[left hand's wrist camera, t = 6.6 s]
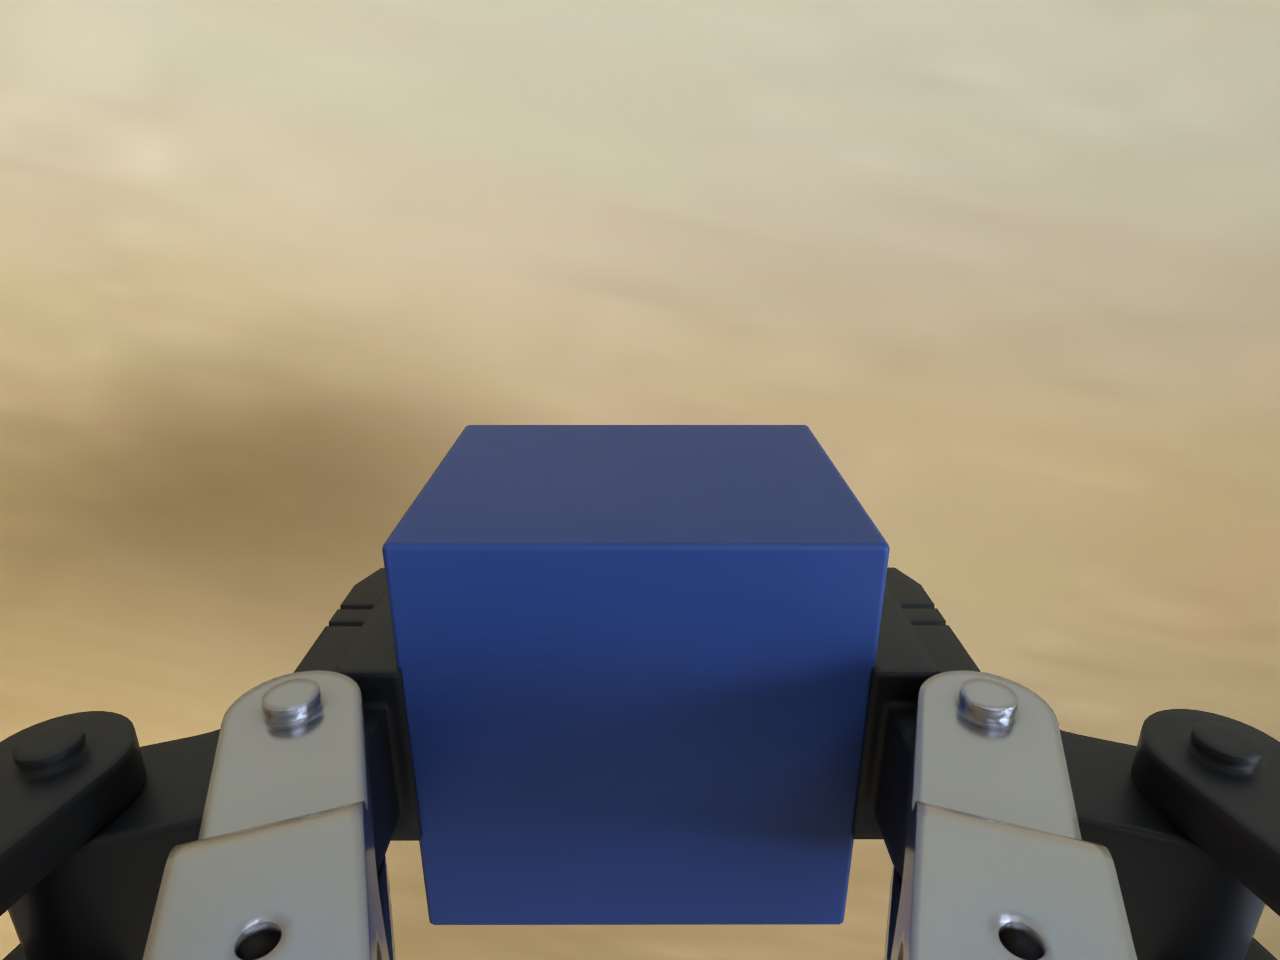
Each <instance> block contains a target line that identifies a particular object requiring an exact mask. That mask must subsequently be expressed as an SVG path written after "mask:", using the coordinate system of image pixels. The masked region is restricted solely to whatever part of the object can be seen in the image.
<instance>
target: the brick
mask: <svg viewBox="0 0 1280 960" xmlns="http://www.w3.org/2000/svg"><path fill="white" fill-rule="evenodd" d="M382 550H383V558H384V566H385V574H386V582H387V590H388V598H389V605H390V613H391V621H392V629H393V637H394V645H395V653H396V661H397V667H398V668H400V669H402V676H403V684H404V692H405V700H406V708H407V716H408V724H409V732H410V740H411V748H412V756H413V764H414V772H415V780H416V788H417V796H418V804H419V812H420V820H421V828H422V839H421V840H419V842H420V850H421V857H422V865H423V873H424V881H425V889H426V897H427V905H428V913H429V920H430V923H431V924H434V925H652V924H841V923H842V922H843V920H844V913H845V905H846V897H847V888H848V880H849V872H850V864H851V856H852V848H853V840H854V839H853V836H852V831H853V822H854V814H855V806H856V798H857V790H858V781H859V773H860V765H861V757H862V749H863V740H864V732H865V724H866V716H867V708H868V700H869V691H870V683H871V675H872V668H875V662H876V654H877V646H878V638H879V630H880V621H881V613H882V605H883V597H884V589H885V581H886V573H887V565H888V557H889V546H888V544H887V542H886V541H885V539H884V538H883V536H882V535H881V533H880V532H879V530H878V529H877V527H876V526H875V525H874V523H873V522H872V520H871V519H870V517H869V516H868V514H867V513H866V511H865V510H864V508H863V507H862V505H861V504H860V502H859V501H858V500H857V498H856V497H855V495H854V494H853V492H852V491H851V489H850V488H849V486H848V485H847V483H846V482H845V480H844V479H843V478H842V476H841V475H840V473H839V472H838V470H837V469H836V467H835V466H834V464H833V463H832V461H831V460H830V458H829V457H828V456H827V454H826V453H825V451H824V450H823V448H822V447H821V445H820V444H819V442H818V441H817V439H816V438H815V436H814V435H813V433H812V432H811V431H810V429H809V428H808V426H805V425H469V426H466V427H465V429H464V430H463V432H462V433H461V434H460V436H459V437H458V439H457V440H456V442H455V443H454V444H453V446H452V447H451V449H450V450H449V452H448V453H447V455H446V456H445V457H444V459H443V460H442V462H441V463H440V465H439V466H438V467H437V469H436V470H435V472H434V473H433V475H432V476H431V477H430V479H429V480H428V482H427V483H426V485H425V486H424V488H423V489H422V490H421V492H420V493H419V495H418V496H417V498H416V499H415V500H414V502H413V503H412V505H411V506H410V508H409V509H408V510H407V512H406V513H405V515H404V516H403V518H402V519H401V521H400V522H399V523H398V525H397V526H396V528H395V529H394V531H393V532H392V533H391V535H390V536H389V538H388V539H387V541H386V542H385V543H384V545H383V548H382Z"/></svg>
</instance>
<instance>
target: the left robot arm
mask: <svg viewBox="0 0 1280 960" xmlns="http://www.w3.org/2000/svg"><path fill="white" fill-rule="evenodd" d="M852 836H853V839H884V841H885V844H886V847H887V849H888V852H889V855H890V857H891V860H892V863H893V871H892V877H891V884H890V896H889V908H888V920H887V932H886V945H885V957H884V960H1277V959H1276V958H1275V957H1274V956H1273V955H1272V954H1271V953H1270V952H1268V951H1267V950H1266V949H1265V948H1264V947H1263V946H1262V945H1261V944H1260V943H1259V942H1258V941H1257V940H1255V939H1254V938H1253V935H1254V932H1255V929H1256V927H1257V924H1258V921H1259V919H1260V916H1261V913H1262V911H1263V908H1264V905H1265V904H1266V905H1267V906H1269V907H1270V908H1271V909H1272V910H1273V911H1274V912H1275V913H1277V914H1278V915H1279V916H1280V742H1279V741H1277V740H1275V739H1274V738H1272V737H1270V736H1269V735H1267V734H1265V733H1263V732H1261V731H1259V730H1257V729H1255V728H1253V727H1251V726H1249V725H1246V724H1244V723H1242V722H1239V721H1236V720H1233V719H1231V718H1228V717H1224V716H1221V715H1217V714H1213V713H1209V712H1204V711H1198V710H1189V709H1170V710H1163V711H1160V712H1156V713H1154V714H1152V715H1150V716H1149V717H1148V718H1147V719H1146V720H1145V721H1144V724H1143V726H1142V729H1141V733H1140V737H1139V741H1138V744H1137V746H1132V745H1127V744H1122V743H1117V742H1112V741H1107V740H1102V739H1097V738H1092V737H1087V736H1082V735H1078V734H1073V733H1069V732H1065V731H1062V730H1060V729H1059V724H1058V720H1057V717H1056V715H1055V713H1054V712H1053V710H1052V708H1051V707H1050V706H1049V705H1048V704H1047V703H1046V702H1045V701H1044V700H1043V699H1042V698H1041V697H1039V696H1038V695H1037V694H1036V693H1034V692H1032V691H1031V690H1029V689H1028V688H1026V687H1024V686H1022V685H1020V684H1018V683H1016V682H1014V681H1011V680H1009V679H1006V678H1003V677H1000V676H997V675H993V674H988V673H984V672H980V670H979V669H978V667H977V666H976V664H975V663H974V662H973V660H972V659H971V657H970V656H969V654H968V653H967V651H966V650H965V648H964V647H963V646H962V644H961V643H960V641H959V640H958V638H957V637H956V635H955V634H954V633H953V631H952V630H951V628H950V627H949V625H946V621H945V619H944V618H943V617H942V615H941V614H940V612H939V611H938V609H934V603H933V602H932V601H931V599H930V598H929V596H928V595H927V593H926V592H925V590H924V589H923V588H922V586H921V585H920V584H919V583H917V582H916V581H914V580H913V579H911V578H910V577H908V576H906V575H905V574H903V573H902V572H900V571H899V570H897V569H896V568H887V573H886V581H885V589H884V597H883V605H882V613H881V621H880V630H879V638H878V646H877V654H876V662H875V668H872V675H871V683H870V691H869V700H868V708H867V716H866V724H865V732H864V740H863V749H862V757H861V765H860V773H859V781H858V790H857V798H856V806H855V814H854V822H853V831H852ZM421 839H422V828H421V820H420V812H419V804H418V796H417V788H416V780H415V772H414V764H413V756H412V748H411V740H410V732H409V724H408V716H407V708H406V700H405V692H404V684H403V676H402V669H400V668H398V667H397V661H396V653H395V645H394V637H393V629H392V621H391V613H390V605H389V598H388V590H387V582H386V574H385V568H381V569H379V570H377V571H376V572H374V573H373V574H371V575H370V576H368V577H367V578H365V579H364V580H362V581H361V582H359V583H358V584H356V585H354V587H353V588H352V590H351V591H350V593H349V594H348V596H347V597H346V598H345V600H344V601H343V603H342V604H341V609H338V610H337V611H336V613H335V614H334V616H333V617H332V618H331V620H330V621H329V626H326V627H325V628H324V630H323V631H322V633H321V634H320V636H319V637H318V638H317V640H316V641H315V643H314V644H313V646H312V647H311V648H310V650H309V651H308V653H307V654H306V656H305V657H304V658H303V660H302V661H301V663H300V664H299V666H298V667H297V669H296V670H295V671H294V673H292V674H287V675H283V676H280V677H277V678H274V679H271V680H269V681H266V682H264V683H262V684H260V685H258V686H256V687H254V688H252V689H251V690H249V691H247V692H246V693H244V694H243V695H242V696H240V697H239V698H238V699H237V700H236V701H235V702H234V703H233V704H232V705H231V706H230V707H229V708H228V710H227V711H226V713H225V715H224V717H223V720H222V724H221V729H219V730H216V731H213V732H210V733H206V734H201V735H197V736H193V737H188V738H183V739H178V740H173V741H168V742H163V743H158V744H153V745H148V746H143V747H139V743H138V739H137V736H136V732H135V728H134V726H133V724H132V722H131V721H130V720H129V719H128V718H126V717H124V716H122V715H120V714H117V713H113V712H105V711H89V712H80V713H74V714H69V715H64V716H60V717H57V718H53V719H50V720H47V721H44V722H41V723H38V724H36V725H33V726H31V727H29V728H26V729H24V730H22V731H20V732H18V733H16V734H14V735H12V736H10V737H8V738H7V739H5V740H3V741H2V742H0V916H1V915H2V914H3V913H4V912H6V911H7V910H8V911H9V914H10V917H11V919H12V922H13V924H14V927H15V930H16V932H17V935H18V938H19V940H20V944H19V945H18V946H17V947H16V948H15V949H14V950H13V951H11V952H10V953H9V954H8V955H7V956H6V957H5V958H4V959H3V960H396V957H395V945H394V933H393V921H392V909H391V897H390V885H389V878H388V871H387V864H386V858H385V853H386V851H387V848H388V845H389V843H390V841H391V840H421Z"/></svg>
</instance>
